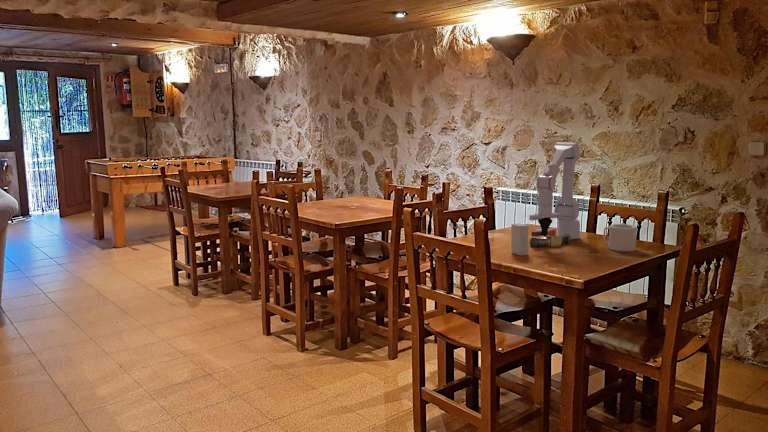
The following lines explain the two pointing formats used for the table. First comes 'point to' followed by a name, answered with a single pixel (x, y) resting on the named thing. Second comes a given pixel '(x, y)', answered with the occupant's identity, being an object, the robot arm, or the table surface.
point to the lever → (539, 233)
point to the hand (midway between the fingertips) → (544, 235)
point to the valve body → (554, 240)
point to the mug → (621, 237)
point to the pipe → (544, 241)
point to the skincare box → (519, 239)
